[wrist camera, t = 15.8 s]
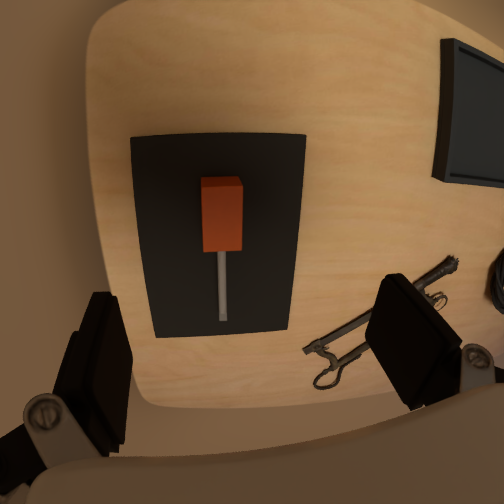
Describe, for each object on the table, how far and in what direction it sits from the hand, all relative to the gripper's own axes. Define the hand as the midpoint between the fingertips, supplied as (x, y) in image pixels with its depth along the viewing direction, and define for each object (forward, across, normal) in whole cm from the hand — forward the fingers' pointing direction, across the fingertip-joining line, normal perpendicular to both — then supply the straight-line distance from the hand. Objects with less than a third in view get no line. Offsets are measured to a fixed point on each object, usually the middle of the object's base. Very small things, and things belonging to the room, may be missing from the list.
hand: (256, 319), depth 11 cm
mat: (+17, 0, +6) cm, 18 cm away
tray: (+17, -31, -9) cm, 36 cm away
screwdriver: (+16, 0, +6) cm, 18 cm away
